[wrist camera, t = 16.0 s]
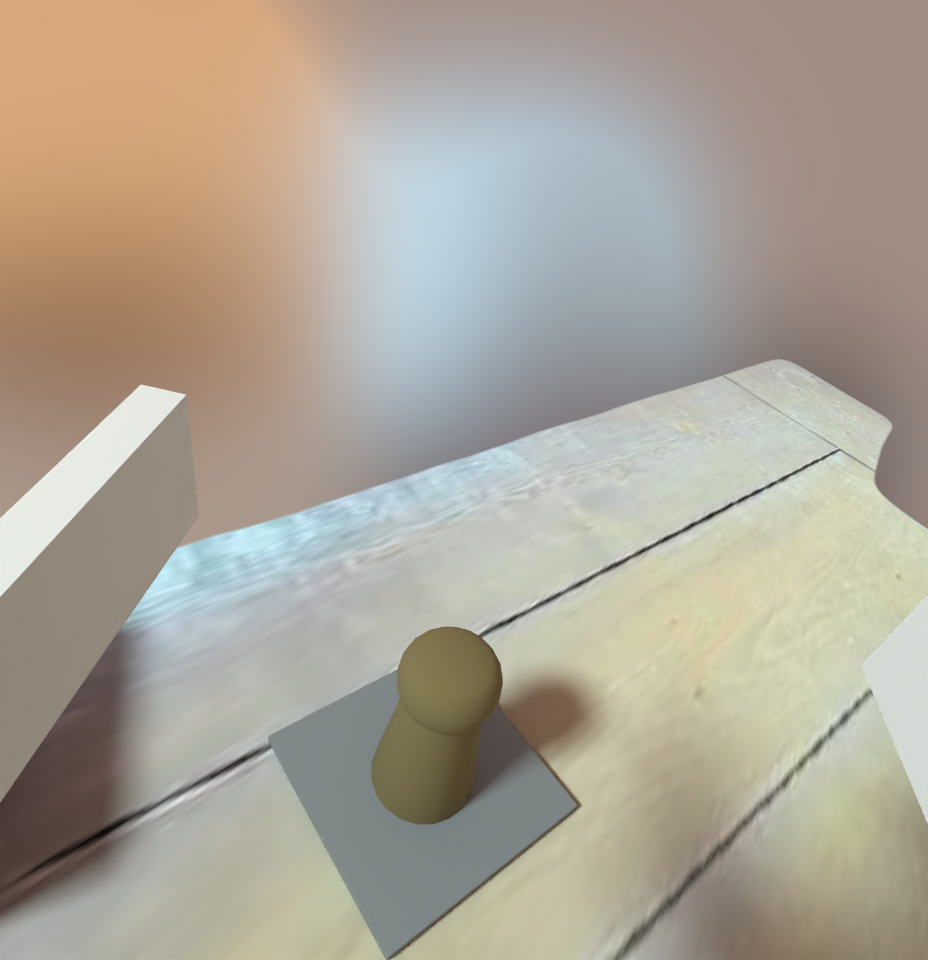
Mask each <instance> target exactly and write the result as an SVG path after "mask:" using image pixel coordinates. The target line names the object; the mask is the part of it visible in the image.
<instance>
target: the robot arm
mask: <svg viewBox="0 0 928 960" xmlns="http://www.w3.org/2000/svg"><path fill="white" fill-rule="evenodd" d="M196 497H197V496H196V487H195V477H194V467H193V457H192V447H191V437H190V428H189V418H188V408H187V399H186V395H185V394H180V393H176V392H171V391H167V390H163V389H158V388H154V387H150V386H145V385H140V386H139V387H138V388H137V389H136V390H135V391H134V392H133V393H132V394H131V395H130V396H129V397H127V398H126V400H124V401H123V402H122V403H121V404H120V405H119V406H118V407H117V408H116V409H115V410H114V411H113V412H112V413H111V414H110V415H109V416H107V417H106V418H105V419H104V420H103V421H102V422H101V423H100V424H99V425H98V426H97V427H96V428H95V429H94V430H93V431H92V432H91V433H90V434H89V435H87V436H86V437H85V438H84V439H83V440H82V441H81V442H80V443H79V444H78V445H77V446H76V447H75V448H74V449H73V450H72V451H71V452H70V453H69V454H67V455H66V456H65V457H64V458H63V459H62V460H61V461H60V462H59V463H58V464H57V465H56V466H55V467H54V468H53V469H52V470H51V471H50V472H49V473H48V474H47V475H45V476H44V477H43V478H42V479H41V480H40V481H39V482H38V483H37V484H36V485H35V486H34V487H33V488H32V489H31V490H30V491H29V492H27V493H26V494H25V495H24V496H23V497H22V498H21V499H20V500H19V501H18V502H17V503H16V504H15V505H14V506H13V507H12V508H11V509H10V510H9V511H7V512H6V513H5V515H3V516H2V517H1V518H0V802H1V801H2V799H3V798H4V796H5V795H6V794H7V792H8V791H9V789H10V788H11V786H12V785H13V783H14V782H15V781H16V779H17V778H18V776H19V775H20V773H21V772H22V770H23V769H24V767H25V766H26V765H27V763H28V762H29V760H30V759H31V757H32V756H33V754H34V753H35V752H36V750H37V749H38V747H39V746H40V744H41V743H42V741H43V740H44V739H45V737H46V736H47V734H48V733H49V731H50V730H51V728H52V727H53V726H54V724H55V723H56V721H57V720H58V718H59V717H60V715H61V714H62V713H63V711H64V710H65V708H66V707H67V705H68V704H69V702H70V701H71V700H72V698H73V697H74V695H75V694H76V692H77V691H78V689H79V688H80V687H81V685H82V684H83V682H84V681H85V679H86V678H87V676H88V675H89V674H90V672H91V671H92V669H93V668H94V666H95V665H96V663H97V662H98V661H99V659H100V658H101V656H102V655H103V653H104V652H105V650H106V649H107V648H108V646H109V645H110V643H111V642H112V640H113V639H114V637H115V636H116V635H117V633H118V632H119V630H120V629H121V627H122V626H123V624H124V623H125V621H126V620H127V619H128V617H129V616H130V614H131V613H132V611H133V610H134V608H135V607H136V606H137V604H138V603H139V601H140V600H141V598H142V597H143V595H144V594H145V593H146V591H147V590H148V588H149V587H150V585H151V584H152V582H153V581H154V580H155V578H156V577H157V575H158V574H159V572H160V571H161V569H162V568H163V567H164V565H165V564H166V562H167V561H168V559H169V558H170V556H171V555H172V554H173V552H174V551H175V549H176V548H177V546H178V545H179V543H180V542H181V541H182V539H183V538H184V536H185V535H186V533H187V532H188V530H189V529H190V527H191V526H192V525H193V523H194V522H195V520H196V519H197V517H198V507H197V498H196ZM862 668H863V670H864V672H865V675H866V677H867V680H868V682H869V684H870V687H871V689H872V692H873V694H874V696H875V699H876V701H877V704H878V706H879V708H880V711H881V713H882V716H883V718H884V720H885V723H886V725H887V728H888V730H889V732H890V735H891V737H892V740H893V742H894V744H895V747H896V749H897V752H898V754H899V756H900V759H901V761H902V764H903V766H904V768H905V771H906V773H907V776H908V778H909V780H910V783H911V785H912V788H913V790H914V792H915V795H916V797H917V800H918V802H919V804H920V807H921V809H922V812H923V814H924V816H925V819H926V821H927V824H928V595H927V596H926V597H925V598H924V599H923V600H922V601H921V602H920V603H919V604H918V605H917V606H916V608H915V609H914V610H913V611H912V612H911V613H910V614H909V615H908V616H907V617H906V618H905V619H904V620H903V621H902V622H901V623H900V625H899V626H898V627H897V628H896V629H895V630H894V631H893V632H892V633H891V634H890V635H889V636H888V637H887V638H886V639H885V641H884V642H883V643H882V644H881V645H880V646H879V647H878V648H877V649H876V650H875V651H874V652H873V653H872V654H871V655H870V656H869V658H868V659H867V660H866V661H865V662H864V663H863V664H862Z"/></svg>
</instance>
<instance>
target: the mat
mask: <svg viewBox="0 0 928 960" xmlns="http://www.w3.org/2000/svg"><path fill="white" fill-rule="evenodd" d="M397 672H398V670H396V671H394V672H392V673H390V674H388V675H386V676H384V677H382V678H380V679H378V680H376V681H374V682H372V683H371V684H369V685H367V686H365V687H363V688H361V689H359V690H357V691H355V692H353V693H351V694H349V695H347V696H345V697H343V698H341V699H339V700H338V701H336V702H334V703H332V704H330V705H328V706H326V707H324V708H322V709H320V710H318V711H316V712H314V713H312V714H310V715H308V716H306V717H305V718H303V719H301V720H299V721H297V722H295V723H293V724H291V725H289V726H287V727H285V728H283V729H281V730H279V731H277V732H275V733H273V734H272V735H270V736H269V743H270V745H271V747H272V749H273V750H274V752H275V754H276V756H277V758H278V760H279V762H280V763H281V765H282V767H283V769H284V771H285V773H286V775H287V776H288V778H289V780H290V782H291V784H292V786H293V788H294V789H295V791H296V793H297V795H298V797H299V799H300V801H301V802H302V804H303V806H304V808H305V810H306V812H307V814H308V815H309V817H310V819H311V821H312V823H313V825H314V827H315V828H316V830H317V832H318V834H319V836H320V838H321V840H322V841H323V843H324V845H325V847H326V849H327V851H328V853H329V854H330V856H331V858H332V860H333V862H334V864H335V866H336V867H337V869H338V871H339V873H340V875H341V877H342V879H343V880H344V882H345V884H346V886H347V888H348V890H349V892H350V893H351V895H352V897H353V899H354V901H355V903H356V905H357V906H358V908H359V910H360V912H361V914H362V916H363V918H364V919H365V921H366V923H367V925H368V927H369V929H370V931H371V932H372V934H373V936H374V938H375V940H376V942H377V944H378V945H379V947H380V949H381V951H382V953H383V955H384V957H385V958H386V960H389V959H390V958H391V957H393V956H394V955H395V954H396V953H398V952H399V951H400V950H401V949H403V948H404V947H405V946H406V945H408V944H409V943H410V942H411V941H413V940H414V939H415V938H416V937H417V936H419V935H420V934H421V933H422V932H424V931H425V930H426V929H427V928H429V927H430V926H431V925H432V924H434V923H435V922H436V921H437V920H439V919H440V918H441V917H442V916H444V915H445V914H446V913H447V912H449V911H450V910H451V909H452V908H453V907H455V906H456V905H457V904H458V903H460V902H461V901H462V900H463V899H465V898H466V897H467V896H468V895H470V894H471V893H472V892H473V891H475V890H476V889H477V888H478V887H480V886H481V885H482V884H483V883H485V882H486V881H487V880H488V879H490V878H491V877H492V876H493V875H494V874H496V873H497V872H498V871H499V870H501V869H502V868H503V867H504V866H506V865H507V864H508V863H509V862H511V861H512V860H513V859H514V858H516V857H517V856H518V855H519V854H521V853H522V852H523V851H524V850H526V849H527V848H528V847H529V846H531V845H532V844H533V843H534V842H535V841H537V840H538V839H539V838H540V837H542V836H543V835H544V834H545V833H547V832H548V831H549V830H550V829H552V828H553V827H554V826H555V825H557V824H558V823H559V822H560V821H562V820H563V819H564V818H565V817H567V816H568V815H569V814H570V813H572V812H573V811H574V810H575V809H576V807H577V804H576V803H575V802H574V800H573V799H572V798H571V797H570V795H569V794H568V793H567V792H566V790H565V789H564V788H563V787H562V786H561V784H560V783H559V782H558V781H557V779H556V778H555V777H554V776H553V774H552V773H551V772H550V771H549V769H548V768H547V767H546V766H545V764H544V763H543V762H542V761H541V759H540V758H539V757H538V756H537V755H536V753H535V752H534V751H533V750H532V748H531V747H530V746H529V745H528V743H527V742H526V741H525V740H524V738H523V737H522V736H521V735H520V733H519V732H518V731H517V730H516V728H515V727H514V726H513V725H512V724H511V722H510V721H509V720H508V719H507V717H506V716H505V715H504V714H503V712H502V711H501V710H500V709H499V707H498V706H496V707H495V709H494V710H493V712H492V713H491V715H490V716H489V718H488V719H486V720H485V721H484V722H483V723H482V724H481V729H480V737H479V745H478V753H477V760H476V768H475V776H474V782H473V786H472V791H471V795H470V796H469V798H468V800H467V801H466V803H465V805H464V806H463V808H462V809H461V810H460V811H458V812H457V813H456V814H455V815H453V816H452V817H451V818H450V819H447V820H444V821H442V822H439V823H436V824H418V825H417V824H414V823H411V822H407V821H404V820H401V819H399V818H398V817H397V816H395V815H394V814H392V813H391V812H390V811H388V810H387V809H386V808H385V807H384V805H383V804H382V802H381V801H380V800H379V798H378V797H377V795H376V793H375V790H374V786H373V783H372V780H371V763H372V760H373V757H374V754H375V752H376V749H377V746H378V744H379V742H380V740H381V738H382V736H383V734H384V732H385V729H386V727H387V725H388V723H389V721H390V719H391V717H392V715H393V712H394V710H395V708H396V706H397V704H398V702H399V700H400V697H399V694H398V689H397Z"/></svg>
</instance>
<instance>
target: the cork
mask: <svg viewBox="0 0 928 960" xmlns="http://www.w3.org/2000/svg"><path fill="white" fill-rule="evenodd" d="M502 685H503V680H502V672H501V665H500V662H499V660H498V658H497V657H496V655H495V653H494V651H493V649H492V648H491V647H490V646H489V645H488V644H487V643H486V642H485V641H484V640H483V639H482V638H481V637H479V636H478V635H476V634H474V633H473V632H471V631H468V630H465V629H462V628H458V627H441V628H436V629H432V630H429V631H427V632H426V633H424V634H422V635H420V636H419V637H417V638H415V640H414V641H413V642H412V643H411V644H410V645H409V646H408V648H407V649H406V650H405V652H404V653H403V656H402V658H401V661H400V664H399V667H398V672H397V689H398V694H399V697H400V700H399V702H398V704H397V706H396V708H395V710H394V712H393V715H392V717H391V719H390V721H389V723H388V725H387V727H386V729H385V732H384V734H383V736H382V738H381V740H380V742H379V744H378V746H377V749H376V752H375V754H374V757H373V760H372V763H371V780H372V783H373V786H374V790H375V793H376V795H377V797H378V798H379V800H380V801H381V802H382V804H383V805H384V807H385V808H386V809H387V810H388V811H390V812H391V813H392V814H394V815H395V816H397V817H398V818H399V819H401V820H404V821H407V822H411V823H414V824H417V825H418V824H436V823H439V822H442V821H444V820H447V819H450V818H451V817H452V816H453V815H455V814H456V813H457V812H458V811H460V810H461V809H462V808H463V806H464V805H465V803H466V801H467V800H468V798H469V796H470V795H471V791H472V786H473V782H474V776H475V768H476V760H477V753H478V745H479V737H480V729H481V724H482V723H483V722H484V721H485V720H486V719H488V718H489V716H490V715H491V713H492V712H493V710H494V709H495V707H496V706H497V704H498V701H499V699H500V695H501V690H502Z"/></svg>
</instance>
